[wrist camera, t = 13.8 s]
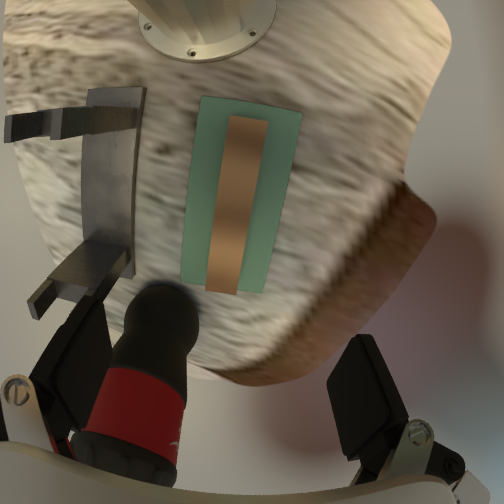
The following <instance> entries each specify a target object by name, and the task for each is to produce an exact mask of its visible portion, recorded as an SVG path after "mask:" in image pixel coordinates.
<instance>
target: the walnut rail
mask: <svg viewBox="0 0 504 504" xmlns="http://www.w3.org/2000/svg"><path fill="white" fill-rule="evenodd" d="M267 126H268V121H263V120H257V119H251V118H245V117H239V116H232V115H230V117H229V122H228V128H227V134H226V140H225V146H224V152H223V158H222V164H221V171H220V177H219V184H218V191H217V198H216V205H215V212H214V219H213V227H212V235H211V243H210V251H209V259H208V268H207V277H206V287H205V290H206V291H212V292H219V293H227V294H234V295H236V292H237V286H238V281H239V275H240V270H241V264H242V259H243V253H244V248H245V242H246V237H247V232H248V226H249V221H250V215H251V210H252V205H253V199H254V194H255V189H256V184H257V178H258V173H259V168H260V163H261V157H262V152H263V147H264V142H265V137H266V131H267Z"/></svg>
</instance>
